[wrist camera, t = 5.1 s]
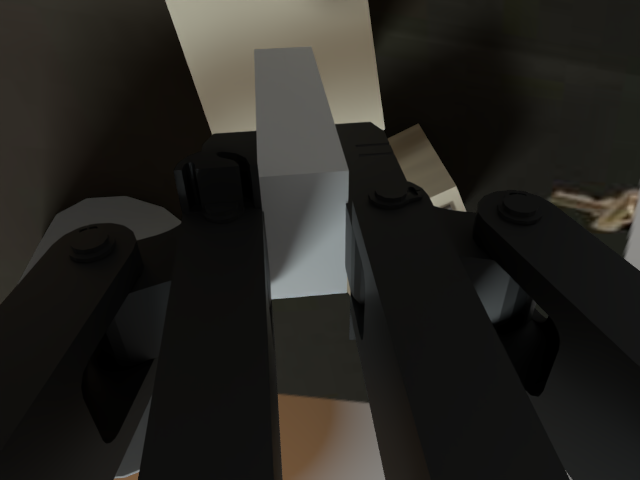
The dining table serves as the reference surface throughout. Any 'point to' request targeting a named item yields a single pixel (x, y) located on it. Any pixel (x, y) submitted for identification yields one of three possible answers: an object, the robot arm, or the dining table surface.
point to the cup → (144, 224)
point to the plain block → (277, 32)
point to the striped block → (424, 169)
